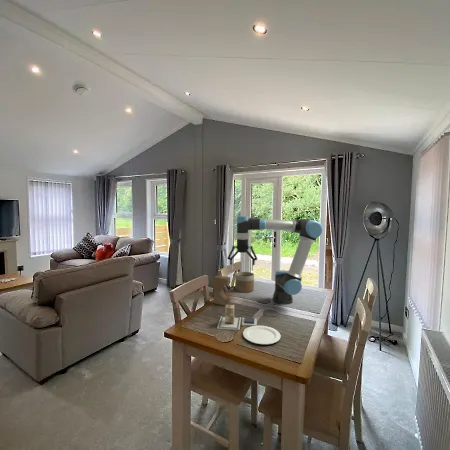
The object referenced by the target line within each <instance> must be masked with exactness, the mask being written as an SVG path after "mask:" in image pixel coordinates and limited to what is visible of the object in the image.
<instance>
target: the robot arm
mask: <svg viewBox="0 0 450 450" xmlns="http://www.w3.org/2000/svg"><path fill="white" fill-rule="evenodd" d="M264 230H276V231H284V232H287V231H288V232H289V231H290V232H291V233H295V234H299V235H298V237H299V241H298V245H297V247H296V250H295V252H294V255H293V257H292V258H293V259H292V260H291V263H290V266H289V269H288V270H283V269H282V270H276V271H275V275H274V278H275V279H274V282H275V283H274V292H273V294H272V301H273V302H274V303H276V304H281V305H289V304H292V303H293V300H294V299H293V296H295V295H297V294H299V293H300V292H301V291H302V288H303V285H302V280H303V277H302V273H303V270H304V267H305V265H306V261H307V259H308V256H309V253H310V250H311V247H312V246H313V243H315V242H316V241H317V238H319V237H320V236H321V235H322V233H323V226H322V224H321V223H320V222H319V221H316V220H313V219H307V218H306V219H291V220H287V219H285V220H284V219H283V220H282V219H271V218H258V217H257V218H256V217H249V216H248V215H239V216H237V217H236V245H232V246H231V251H230V252H229V254H228V256H227V260H229V264H230V265H231V271H233V270H234V258H235V257H236V255H238V253H244V254H245V253H246V254H247V255H248V256H249V258H250V259H251V271H253V270H254V266H255V265H256V264H255V263H256V261H257V260H258V257H257V255H256V253H255V250H254V248H253V245H250V246H249V231H264ZM234 250H236V251H235V252H234ZM249 250H250V251H251V253H252V254H251V253H250V251H249ZM233 252H234V254H233ZM232 254H233V255H232Z"/></svg>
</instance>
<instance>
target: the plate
mask: <svg viewBox="0 0 450 450" xmlns="http://www.w3.org/2000/svg"><path fill="white" fill-rule="evenodd" d="M242 337H244V339H245V340H246V341H248V342H250V343H252V344H255V345H256V344H257V345H260V346H261V345H262V346H265V345H266V346H267V345H272V344H276V343H277V342H279V341H280V340H281V337H282V335H281V334H280V332H279V331H278V330H277V329H275V328H273V327H271V326H266V325H257V326H247V327H246V328H244V330H243V331H242Z"/></svg>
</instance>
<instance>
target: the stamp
mask: <svg viewBox="0 0 450 450" xmlns="http://www.w3.org/2000/svg"><path fill="white" fill-rule="evenodd" d="M224 309H225V310H224V311H225V313H224V314H225V315H224V316H225V324H234V317H235V304H229V305H226V306H225V308H224Z"/></svg>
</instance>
